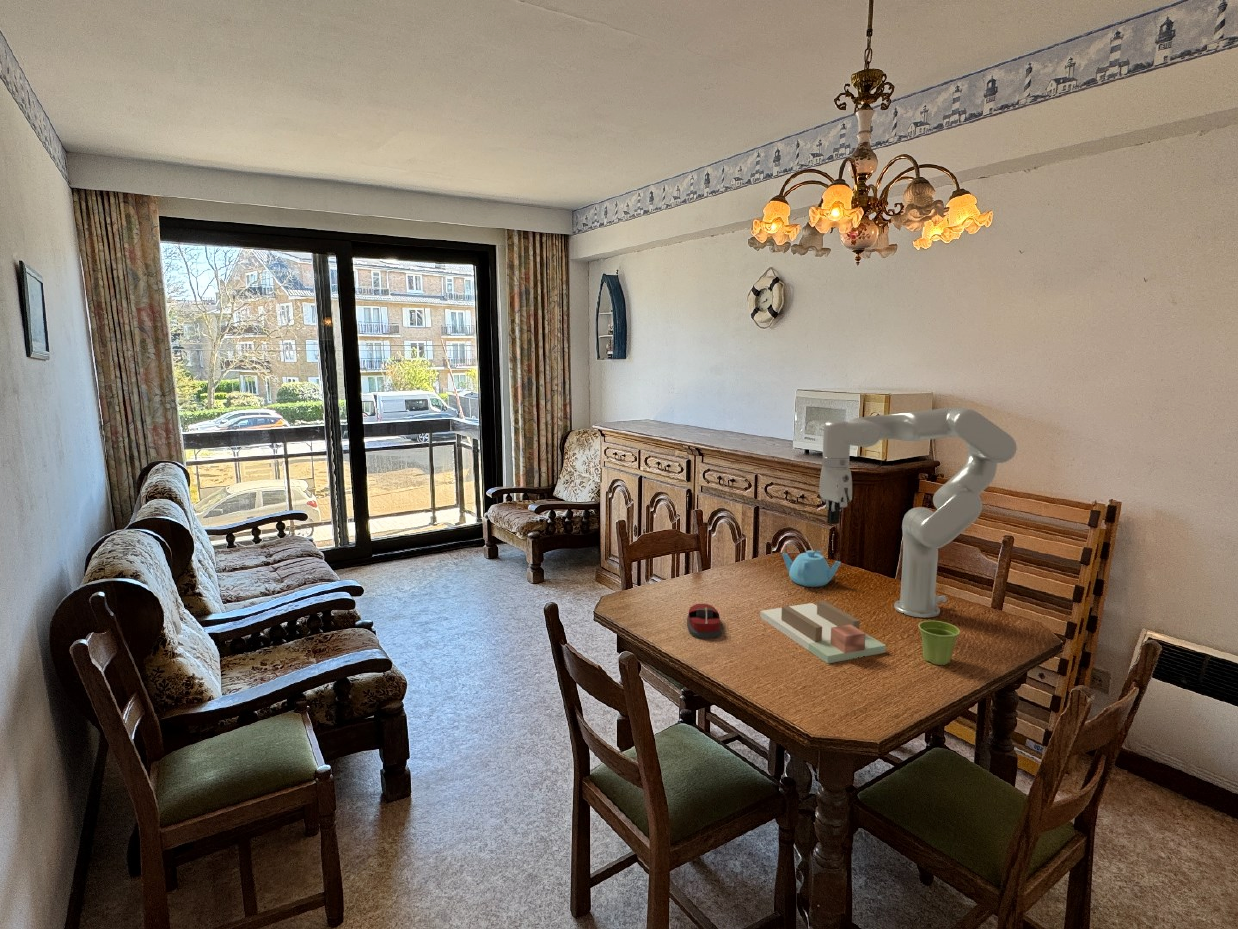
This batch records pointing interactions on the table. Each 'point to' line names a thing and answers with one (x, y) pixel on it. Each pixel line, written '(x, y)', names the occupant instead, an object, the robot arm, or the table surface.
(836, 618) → the board with rails
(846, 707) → the table surface
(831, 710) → the table surface
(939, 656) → the plant pot
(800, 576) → the teapot
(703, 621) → the bumper car
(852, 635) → the block
